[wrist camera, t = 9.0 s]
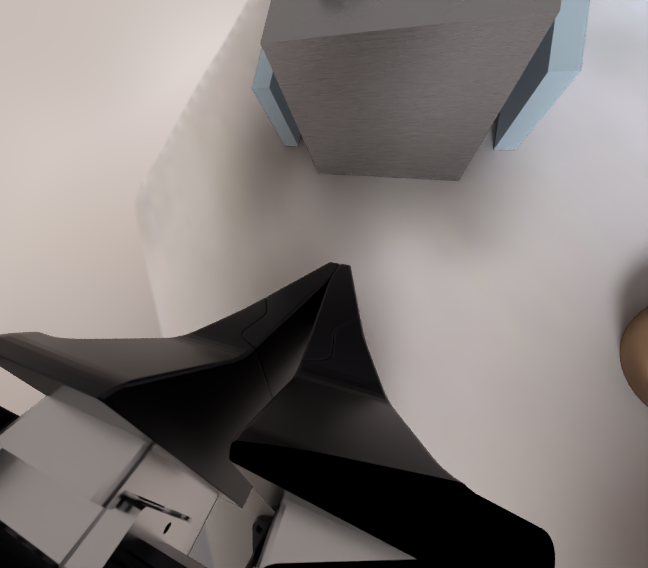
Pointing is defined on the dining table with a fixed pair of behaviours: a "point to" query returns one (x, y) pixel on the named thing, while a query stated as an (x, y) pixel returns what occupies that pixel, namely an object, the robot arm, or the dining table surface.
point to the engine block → (400, 77)
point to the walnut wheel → (636, 355)
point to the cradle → (519, 109)
